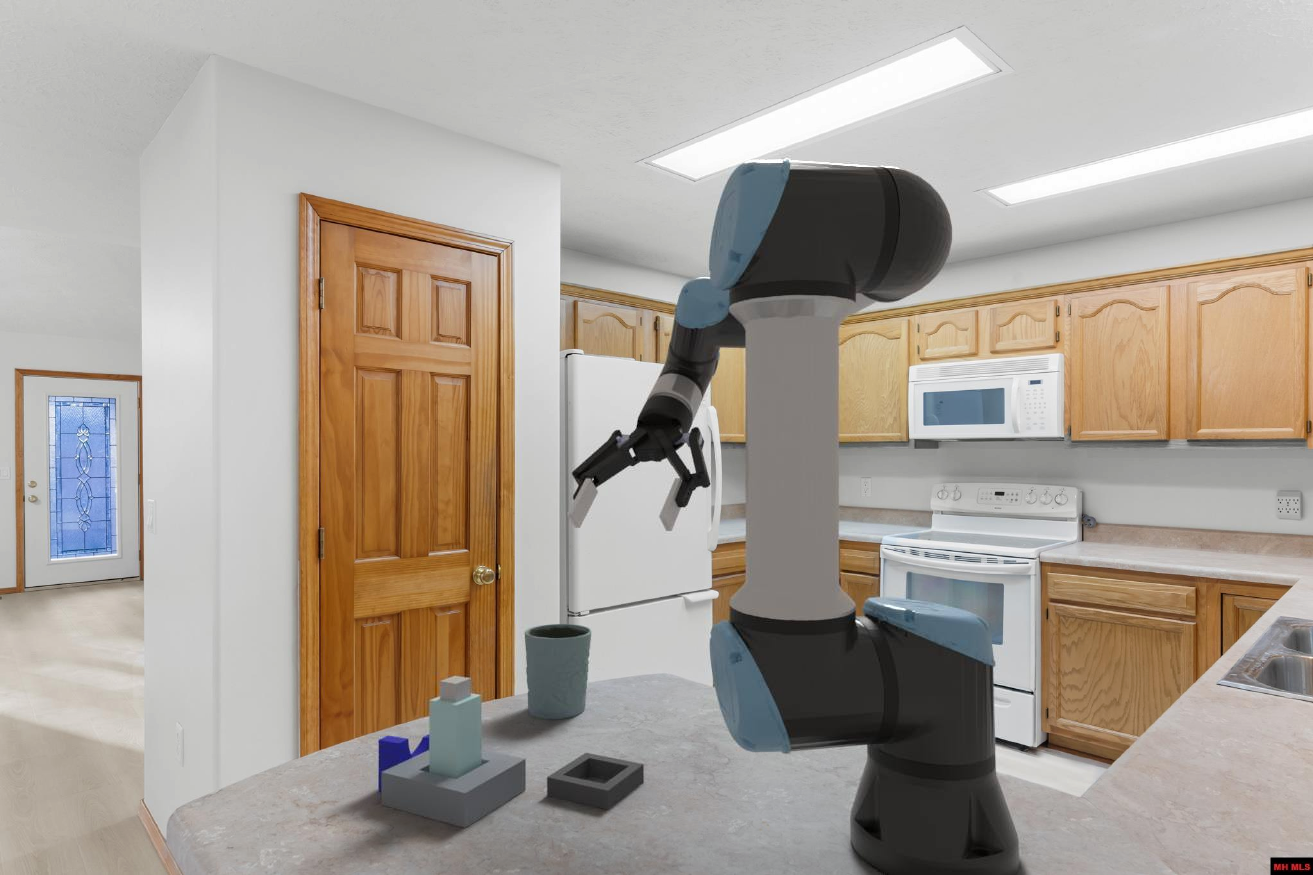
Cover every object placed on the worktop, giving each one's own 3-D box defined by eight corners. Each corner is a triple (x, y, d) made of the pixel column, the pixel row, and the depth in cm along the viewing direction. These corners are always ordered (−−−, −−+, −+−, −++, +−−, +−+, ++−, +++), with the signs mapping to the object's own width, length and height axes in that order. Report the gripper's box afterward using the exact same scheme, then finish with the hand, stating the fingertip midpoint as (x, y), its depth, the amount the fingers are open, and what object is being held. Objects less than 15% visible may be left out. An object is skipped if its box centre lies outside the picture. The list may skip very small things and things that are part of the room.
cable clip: (436, 753, 97) (436, 706, 97) (465, 758, 95) (465, 710, 95) (368, 791, 86) (368, 738, 86) (399, 797, 84) (399, 743, 84)
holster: (643, 781, 87) (643, 763, 87) (608, 809, 80) (607, 790, 80) (586, 769, 91) (585, 752, 91) (547, 795, 84) (547, 776, 84)
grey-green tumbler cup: (526, 701, 118) (526, 624, 118) (591, 698, 119) (590, 622, 119) (522, 722, 108) (522, 638, 108) (593, 719, 109) (592, 636, 109)
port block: (525, 789, 85) (525, 754, 85) (465, 827, 76) (465, 788, 76) (446, 770, 91) (446, 737, 91) (381, 804, 82) (381, 767, 82)
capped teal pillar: (481, 793, 84) (481, 677, 85) (456, 807, 81) (456, 686, 81) (454, 786, 86) (454, 673, 87) (429, 800, 83) (429, 682, 83)
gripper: (756, 428, 106) (716, 545, 92) (606, 433, 117) (550, 537, 103) (742, 387, 101) (698, 503, 87) (587, 397, 113) (526, 501, 99)
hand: (617, 522), depth 95 cm, fingers open, 13 cm apart
